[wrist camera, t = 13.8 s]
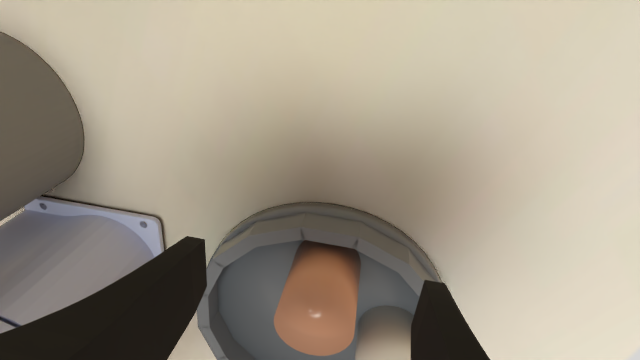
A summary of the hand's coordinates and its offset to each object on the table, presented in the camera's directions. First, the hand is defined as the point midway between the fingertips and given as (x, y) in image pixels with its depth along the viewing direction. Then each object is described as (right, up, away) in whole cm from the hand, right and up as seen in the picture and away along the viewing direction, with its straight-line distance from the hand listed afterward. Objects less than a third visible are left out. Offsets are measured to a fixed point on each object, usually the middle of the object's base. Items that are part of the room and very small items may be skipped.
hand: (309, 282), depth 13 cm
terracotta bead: (+1, -2, +11) cm, 11 cm away
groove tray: (+1, -5, +14) cm, 15 cm away
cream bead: (+5, -6, +13) cm, 15 cm away
